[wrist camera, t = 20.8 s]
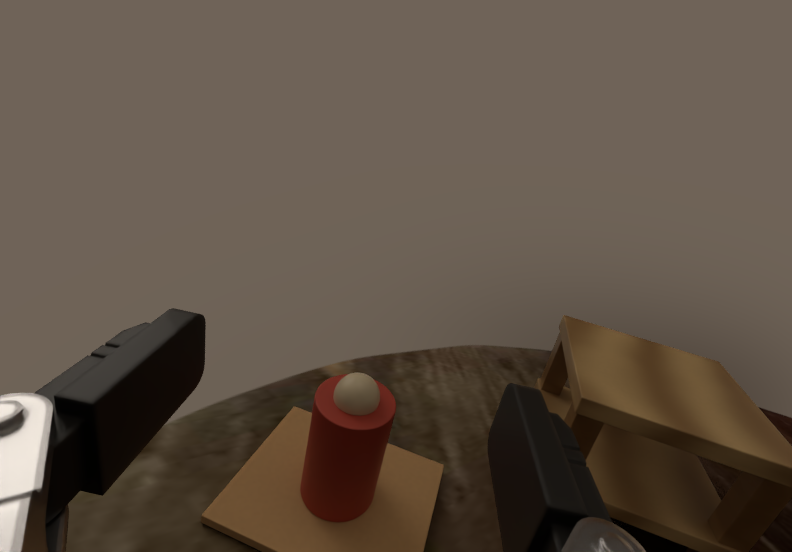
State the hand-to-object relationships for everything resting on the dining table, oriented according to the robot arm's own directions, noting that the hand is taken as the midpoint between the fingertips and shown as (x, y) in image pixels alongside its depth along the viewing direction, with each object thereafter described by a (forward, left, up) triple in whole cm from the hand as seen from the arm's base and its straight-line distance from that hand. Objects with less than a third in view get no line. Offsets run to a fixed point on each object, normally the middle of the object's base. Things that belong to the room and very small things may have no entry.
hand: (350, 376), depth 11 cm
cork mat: (+2, -10, -16) cm, 19 cm away
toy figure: (+2, -10, -16) cm, 19 cm away
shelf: (-16, -20, -16) cm, 30 cm away
